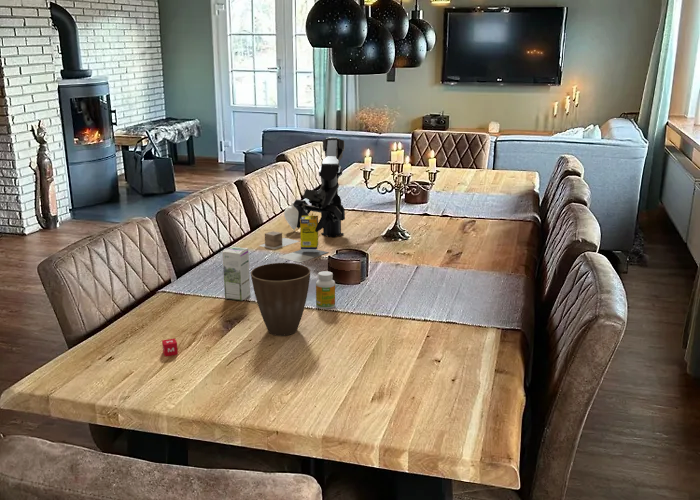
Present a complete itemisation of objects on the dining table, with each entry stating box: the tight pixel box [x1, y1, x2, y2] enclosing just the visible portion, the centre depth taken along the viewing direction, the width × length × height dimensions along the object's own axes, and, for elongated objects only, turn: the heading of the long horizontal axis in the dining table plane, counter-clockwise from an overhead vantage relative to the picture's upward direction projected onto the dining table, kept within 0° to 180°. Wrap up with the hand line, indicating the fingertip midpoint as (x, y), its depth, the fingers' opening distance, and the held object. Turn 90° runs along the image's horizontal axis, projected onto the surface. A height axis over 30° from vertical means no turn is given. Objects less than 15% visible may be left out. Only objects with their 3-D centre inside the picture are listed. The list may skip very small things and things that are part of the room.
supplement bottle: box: [315, 270, 336, 310], centre depth 195 cm, size 5×5×10 cm
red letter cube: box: [161, 338, 179, 357], centre depth 165 cm, size 3×3×3 cm
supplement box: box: [299, 215, 319, 250], centre depth 246 cm, size 6×6×11 cm
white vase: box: [283, 201, 298, 232], centre depth 275 cm, size 8×8×12 cm
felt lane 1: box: [258, 237, 300, 250], centre depth 259 cm, size 14×8×1 cm, turn 143°
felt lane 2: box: [278, 248, 329, 264], centre depth 245 cm, size 16×10×1 cm, turn 143°
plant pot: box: [250, 262, 311, 337], centre depth 177 cm, size 15×15×16 cm
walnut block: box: [264, 230, 283, 247], centre depth 256 cm, size 4×4×4 cm
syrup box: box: [222, 246, 251, 302], centre depth 201 cm, size 6×6×14 cm
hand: (306, 229), depth 244 cm, fingers closed on supplement box, 8 cm apart
